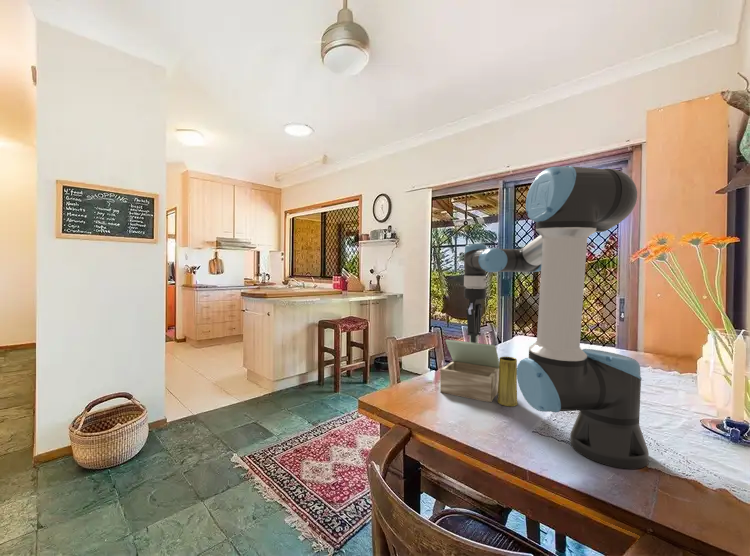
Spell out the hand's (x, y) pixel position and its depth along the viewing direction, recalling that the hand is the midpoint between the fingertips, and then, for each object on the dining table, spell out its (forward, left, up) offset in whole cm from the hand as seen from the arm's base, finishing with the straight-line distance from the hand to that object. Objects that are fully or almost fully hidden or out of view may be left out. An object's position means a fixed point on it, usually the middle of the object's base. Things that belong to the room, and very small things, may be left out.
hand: (473, 353), depth 122 cm
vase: (-8, -13, -13) cm, 20 cm away
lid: (-2, 0, 0) cm, 2 cm away
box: (-4, 0, -13) cm, 13 cm away
